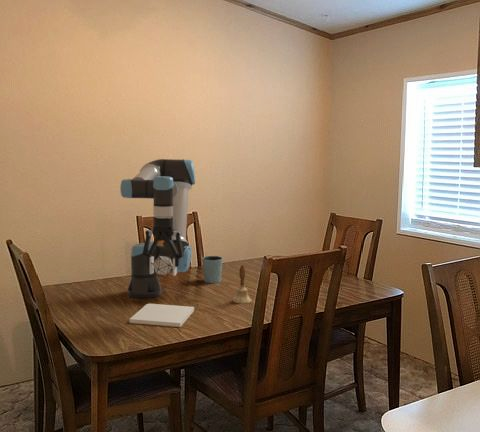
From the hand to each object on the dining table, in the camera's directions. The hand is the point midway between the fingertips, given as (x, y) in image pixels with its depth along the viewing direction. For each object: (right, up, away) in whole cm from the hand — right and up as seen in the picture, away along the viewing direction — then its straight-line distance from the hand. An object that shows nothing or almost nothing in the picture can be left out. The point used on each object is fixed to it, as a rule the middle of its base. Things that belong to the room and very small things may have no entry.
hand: (163, 274), depth 198 cm
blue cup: (+16, -10, +57) cm, 60 cm away
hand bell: (+31, -15, +25) cm, 43 cm away
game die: (0, -1, 0) cm, 1 cm away
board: (0, -17, +2) cm, 17 cm away
